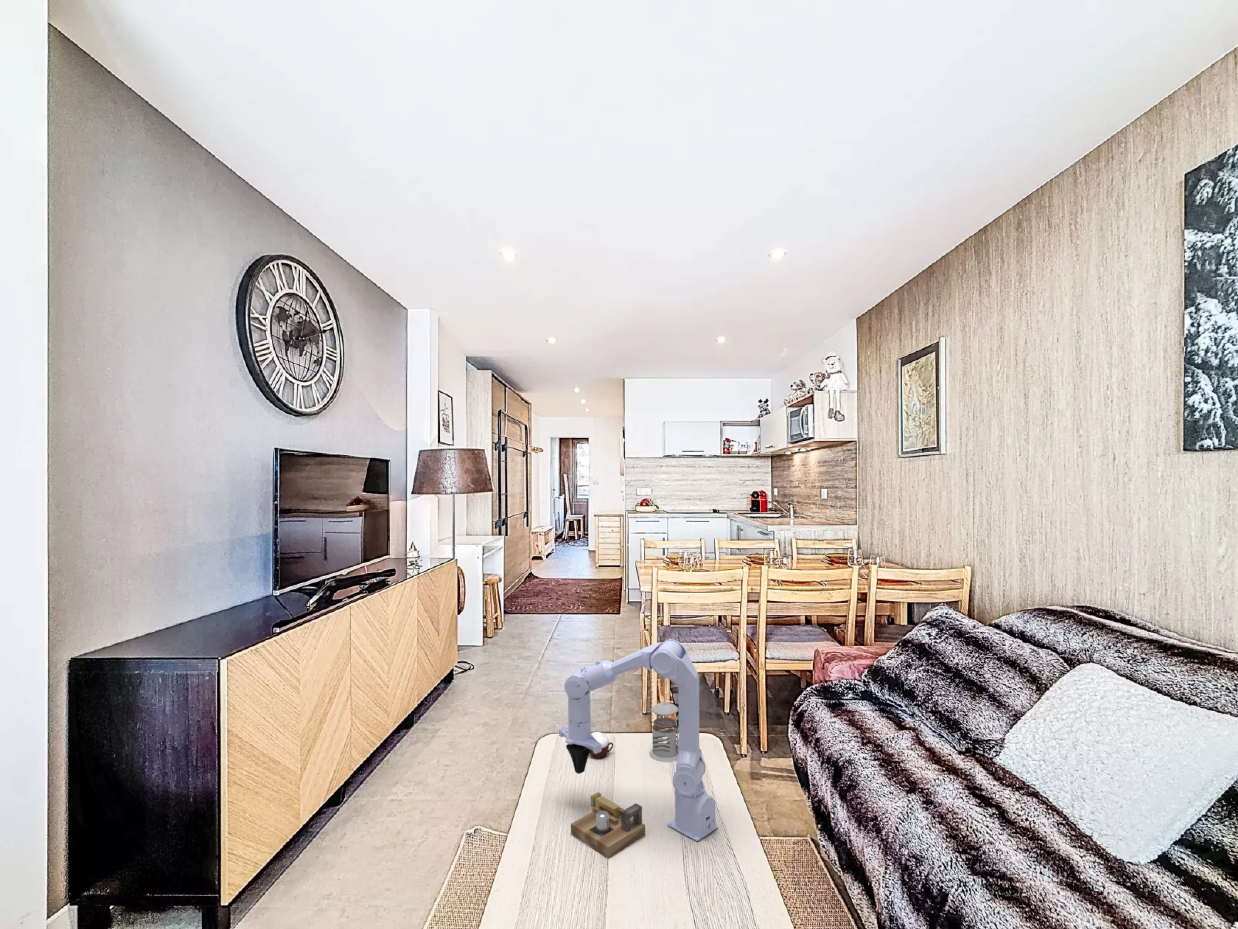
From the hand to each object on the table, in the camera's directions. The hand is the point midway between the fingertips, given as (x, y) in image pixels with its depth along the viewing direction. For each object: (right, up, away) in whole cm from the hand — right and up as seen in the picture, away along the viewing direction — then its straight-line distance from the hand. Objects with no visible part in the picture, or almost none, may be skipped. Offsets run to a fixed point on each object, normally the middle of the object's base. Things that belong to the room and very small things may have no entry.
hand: (579, 771), depth 161 cm
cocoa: (+4, -9, +28) cm, 29 cm away
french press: (+25, -9, +28) cm, 38 cm away
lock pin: (+7, -6, -7) cm, 11 cm away
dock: (+7, -9, -12) cm, 17 cm away
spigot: (+6, -9, -14) cm, 18 cm away
